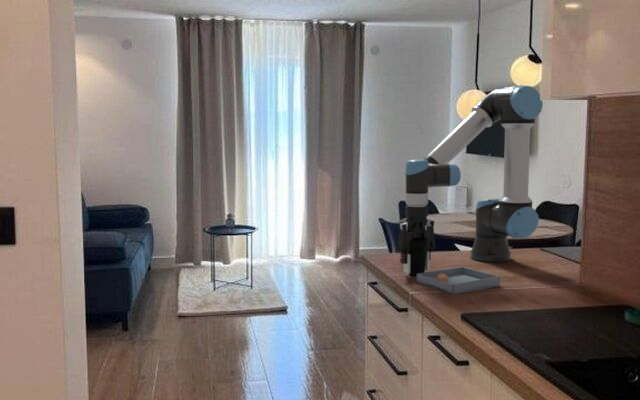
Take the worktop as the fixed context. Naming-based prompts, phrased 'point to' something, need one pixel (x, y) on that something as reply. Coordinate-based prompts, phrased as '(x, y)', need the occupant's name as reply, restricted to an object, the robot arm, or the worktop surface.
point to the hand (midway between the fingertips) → (416, 271)
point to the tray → (458, 280)
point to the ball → (442, 277)
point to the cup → (418, 255)
